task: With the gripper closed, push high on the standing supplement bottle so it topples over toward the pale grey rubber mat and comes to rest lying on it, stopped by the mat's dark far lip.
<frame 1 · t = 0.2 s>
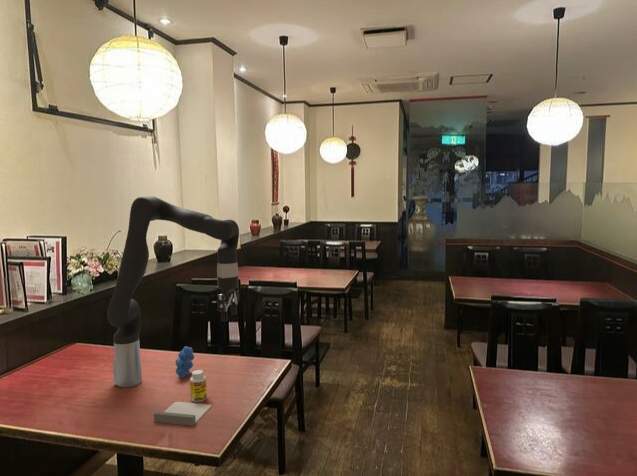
hand: (229, 318, 166), 28 cm above the table, fingers open, 8 cm apart
supplement bottle: (199, 399, 162), on the table
grapes: (183, 376, 183), on the table
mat: (185, 412, 153), on the table
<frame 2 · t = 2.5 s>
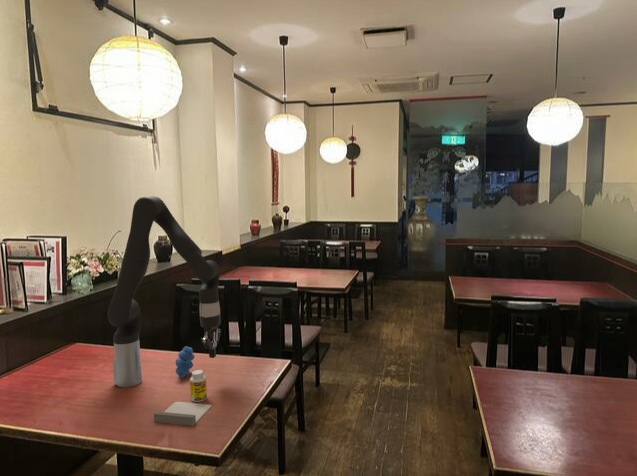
hand: (212, 357, 173), 11 cm above the table, fingers closed
nothing on the table moved.
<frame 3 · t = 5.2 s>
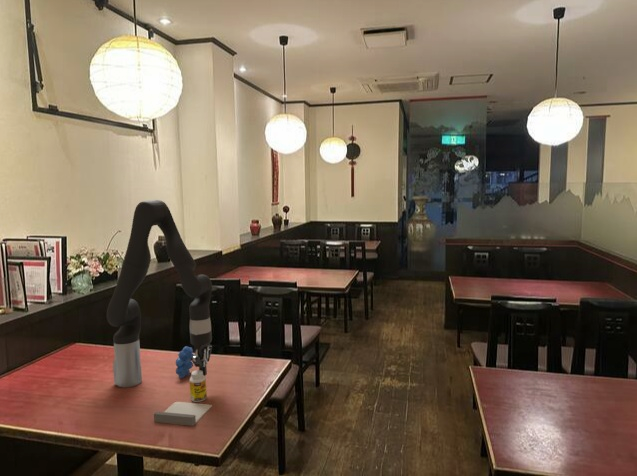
hand: (203, 375, 165), 7 cm above the table, fingers closed
supplement bottle: (199, 399, 162), on the table, touching gripper
everything else where it was.
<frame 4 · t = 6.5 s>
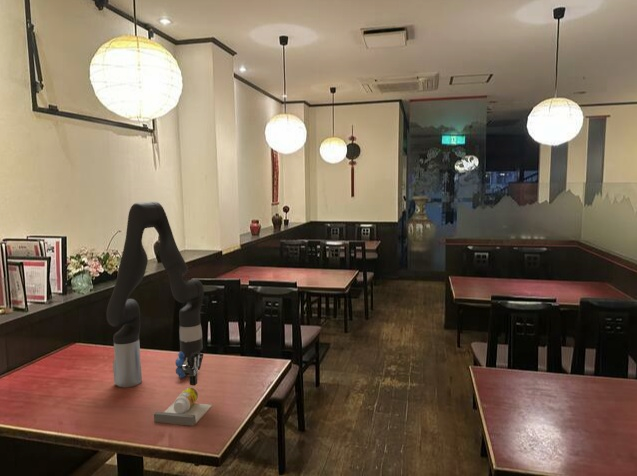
hand: (193, 384, 158), 7 cm above the table, fingers closed
supplement bottle: (191, 393, 160), point 3 cm above the table, touching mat
everything else where it was.
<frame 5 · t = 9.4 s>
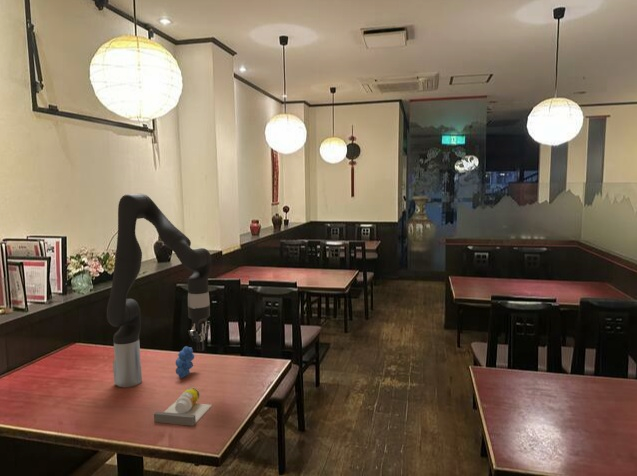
hand: (200, 350, 163), 17 cm above the table, fingers closed
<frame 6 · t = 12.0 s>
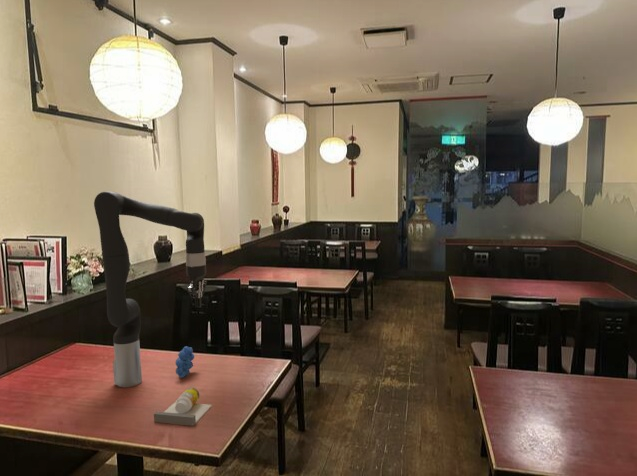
hand: (198, 306, 178), 29 cm above the table, fingers closed
nothing on the table moved.
at the end: supplement bottle tilted 91°; supplement bottle inside the target area (7.9 cm from its centre), point 3.2 cm above the table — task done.
